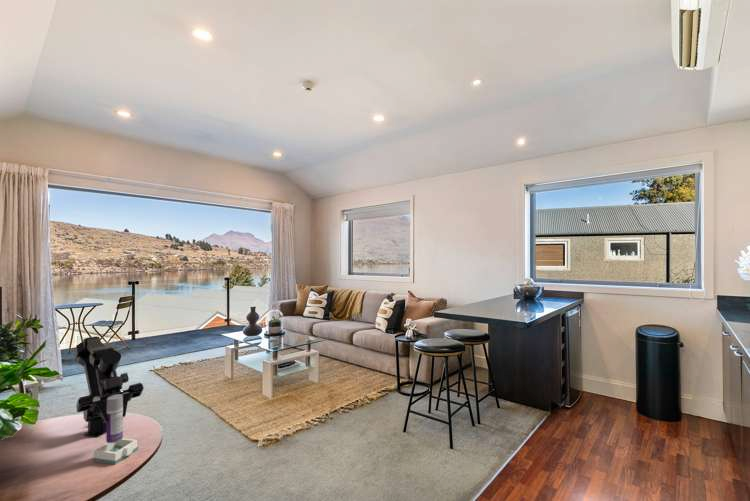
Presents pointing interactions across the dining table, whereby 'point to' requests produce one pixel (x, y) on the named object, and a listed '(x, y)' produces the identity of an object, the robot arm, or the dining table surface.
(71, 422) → the dining table surface
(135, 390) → the robot arm
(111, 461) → the board
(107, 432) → the container
